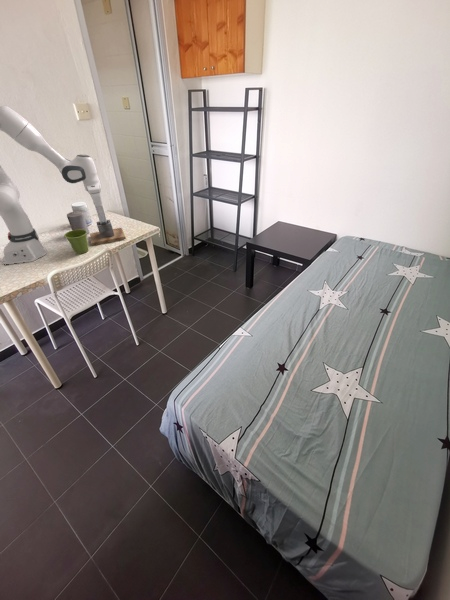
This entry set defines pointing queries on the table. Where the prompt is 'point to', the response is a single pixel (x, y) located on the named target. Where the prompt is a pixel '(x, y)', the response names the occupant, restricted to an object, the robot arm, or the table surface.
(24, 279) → the table surface
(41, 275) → the table surface
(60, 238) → the table surface
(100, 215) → the column
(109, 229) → the stand
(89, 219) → the supplement tub
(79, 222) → the pillar candle
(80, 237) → the plant pot
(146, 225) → the table surface
